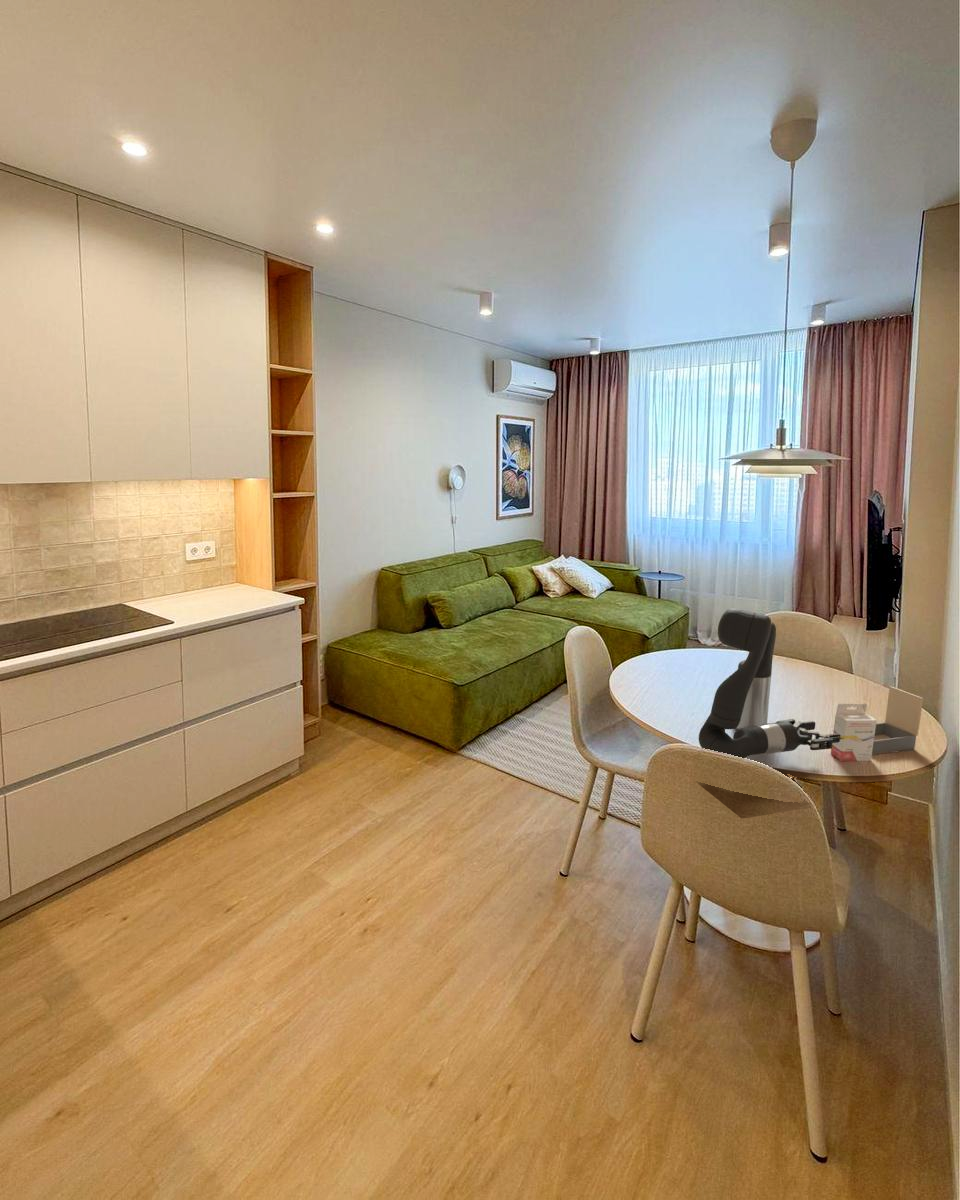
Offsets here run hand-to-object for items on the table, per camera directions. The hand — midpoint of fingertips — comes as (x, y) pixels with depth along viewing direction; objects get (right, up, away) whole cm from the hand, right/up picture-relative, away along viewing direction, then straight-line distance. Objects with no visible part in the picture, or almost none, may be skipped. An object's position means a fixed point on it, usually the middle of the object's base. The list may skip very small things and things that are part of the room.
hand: (826, 731), depth 165 cm
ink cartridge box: (+9, -8, +4) cm, 13 cm away
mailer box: (+21, -6, +12) cm, 25 cm away
